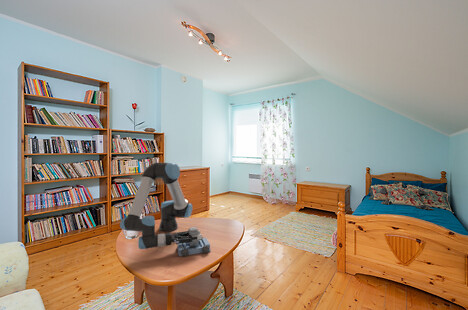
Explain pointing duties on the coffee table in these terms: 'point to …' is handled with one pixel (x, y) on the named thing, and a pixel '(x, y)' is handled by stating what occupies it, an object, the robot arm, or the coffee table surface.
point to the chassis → (184, 248)
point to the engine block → (192, 232)
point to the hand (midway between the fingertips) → (201, 234)
